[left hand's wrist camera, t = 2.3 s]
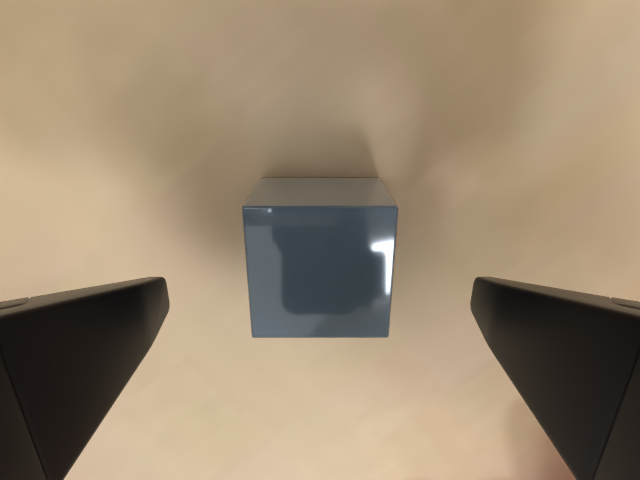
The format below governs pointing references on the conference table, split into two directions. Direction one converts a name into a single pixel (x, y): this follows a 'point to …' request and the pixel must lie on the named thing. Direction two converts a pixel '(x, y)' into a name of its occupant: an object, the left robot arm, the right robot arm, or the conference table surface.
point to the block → (320, 257)
